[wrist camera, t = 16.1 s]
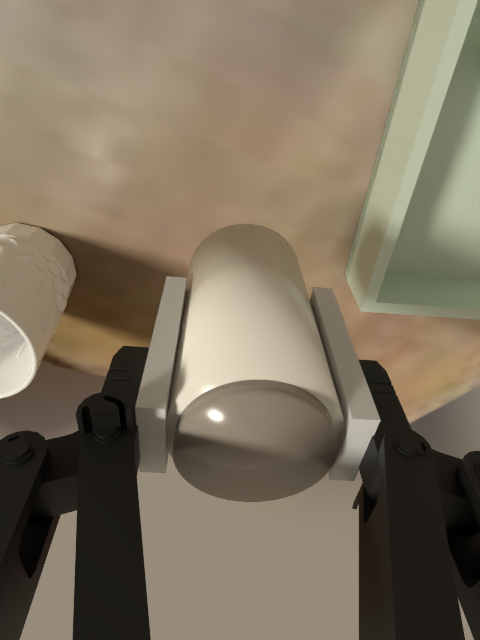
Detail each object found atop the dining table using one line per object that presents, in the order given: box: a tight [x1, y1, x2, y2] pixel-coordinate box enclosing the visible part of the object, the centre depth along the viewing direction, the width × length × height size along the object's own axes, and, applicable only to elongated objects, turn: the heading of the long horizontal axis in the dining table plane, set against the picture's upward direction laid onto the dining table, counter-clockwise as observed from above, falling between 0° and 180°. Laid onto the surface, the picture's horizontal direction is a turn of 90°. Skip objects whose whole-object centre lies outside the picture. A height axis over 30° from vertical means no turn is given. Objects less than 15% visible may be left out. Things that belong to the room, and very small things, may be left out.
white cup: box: [0, 223, 77, 398], centre depth 28 cm, size 8×8×10 cm
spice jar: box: [167, 224, 345, 502], centre depth 15 cm, size 5×5×10 cm
